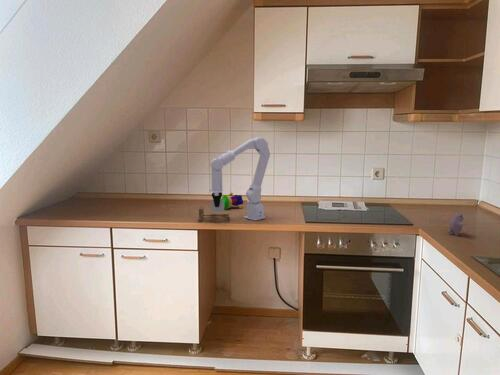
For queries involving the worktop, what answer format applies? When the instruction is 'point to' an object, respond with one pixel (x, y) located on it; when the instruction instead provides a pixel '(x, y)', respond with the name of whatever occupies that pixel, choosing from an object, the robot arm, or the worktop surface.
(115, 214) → the worktop surface
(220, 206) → the grey rectangular block
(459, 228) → the figurine
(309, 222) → the worktop surface
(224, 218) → the sill track
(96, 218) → the worktop surface
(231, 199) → the toy
